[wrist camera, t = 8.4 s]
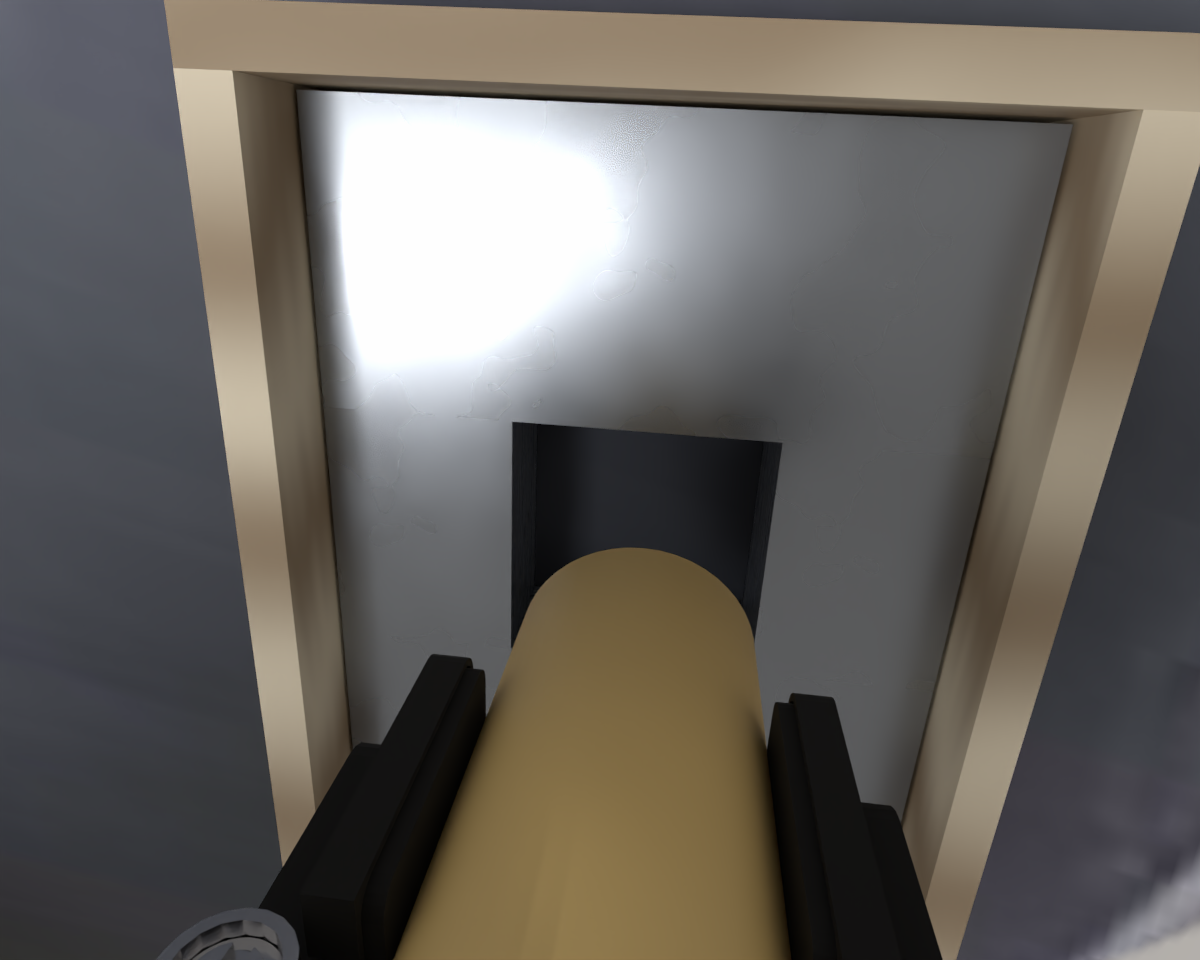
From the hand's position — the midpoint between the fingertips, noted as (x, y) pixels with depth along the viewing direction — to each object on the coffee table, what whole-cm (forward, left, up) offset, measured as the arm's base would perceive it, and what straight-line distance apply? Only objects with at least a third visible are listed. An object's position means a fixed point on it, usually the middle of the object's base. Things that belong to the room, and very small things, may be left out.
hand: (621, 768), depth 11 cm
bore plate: (0, 0, -10) cm, 10 cm away
